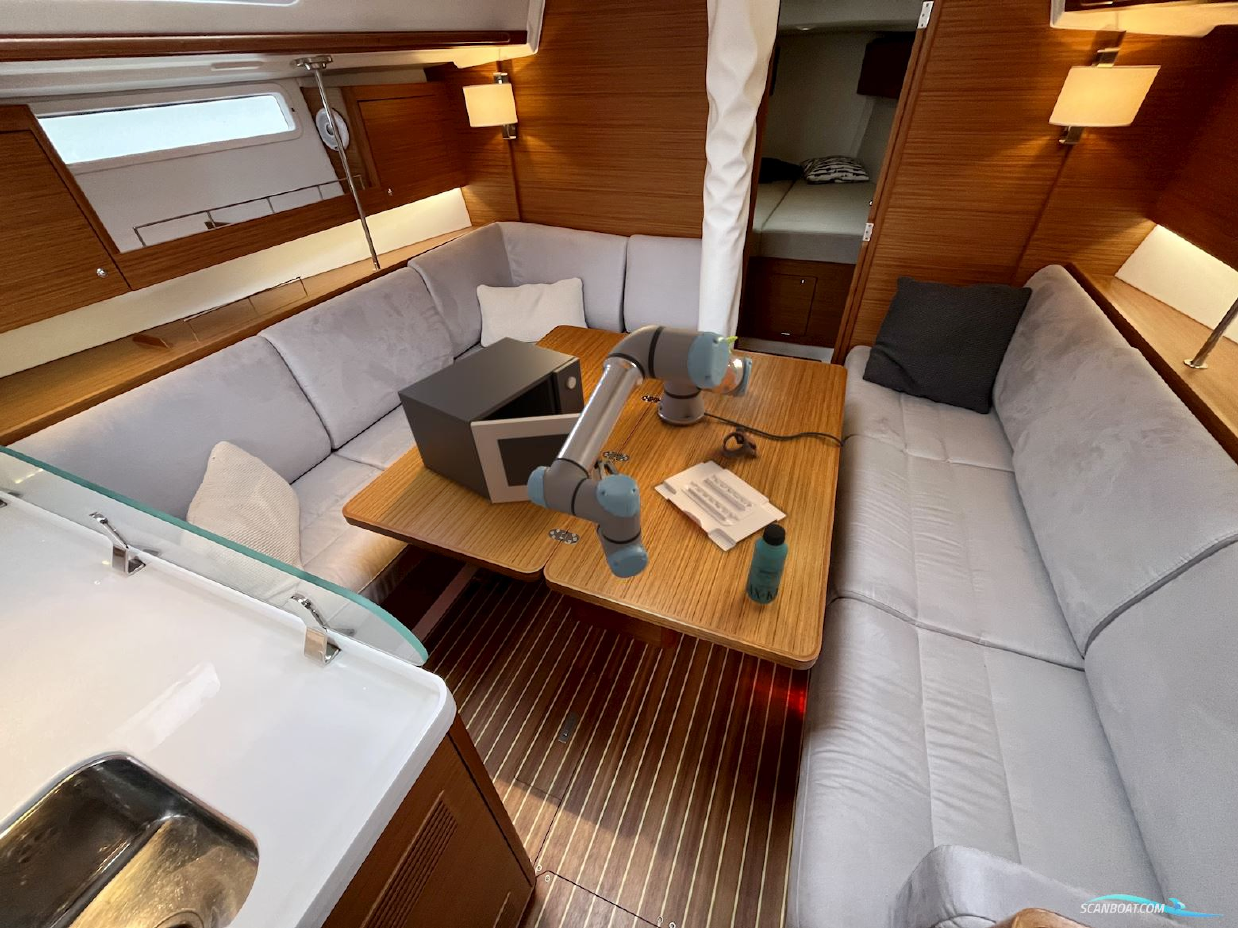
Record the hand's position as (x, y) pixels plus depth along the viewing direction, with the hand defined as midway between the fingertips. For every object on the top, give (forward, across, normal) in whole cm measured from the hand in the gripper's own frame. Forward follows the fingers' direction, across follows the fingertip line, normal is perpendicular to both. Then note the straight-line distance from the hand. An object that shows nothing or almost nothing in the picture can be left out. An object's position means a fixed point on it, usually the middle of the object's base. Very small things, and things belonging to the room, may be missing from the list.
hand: (583, 450), depth 121 cm
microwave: (+31, -17, -16) cm, 39 cm away
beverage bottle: (-42, +27, -16) cm, 53 cm away
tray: (-12, +31, -16) cm, 37 cm away
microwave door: (+2, -11, -16) cm, 19 cm away
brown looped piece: (+5, +46, -16) cm, 49 cm away
